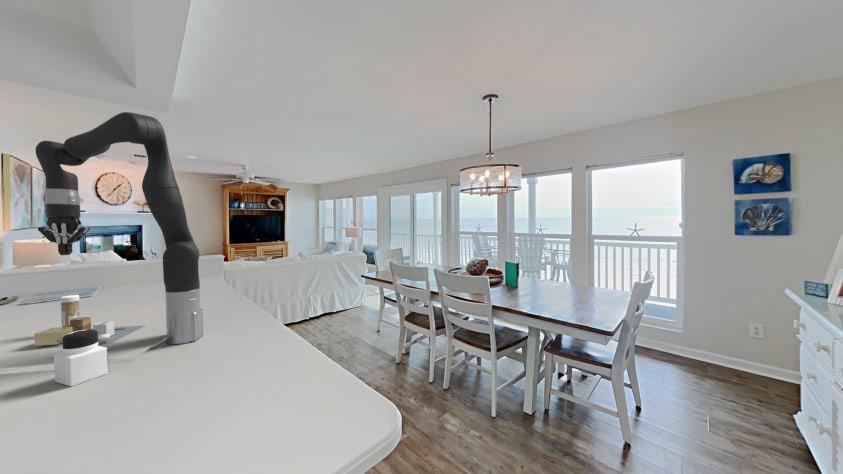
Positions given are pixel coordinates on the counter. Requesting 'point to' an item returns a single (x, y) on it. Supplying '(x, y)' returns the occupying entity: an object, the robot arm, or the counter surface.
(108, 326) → the grey fader
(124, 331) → the board
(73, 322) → the walnut fader
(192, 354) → the counter surface
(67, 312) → the sprinkles bottle
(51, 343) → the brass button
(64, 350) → the medicine bottle
